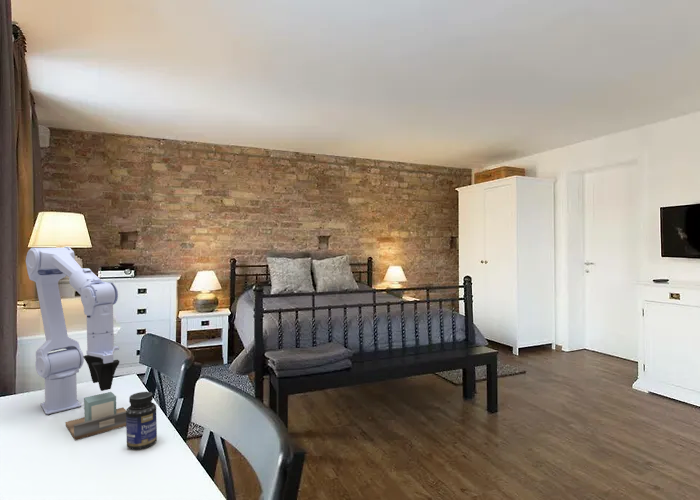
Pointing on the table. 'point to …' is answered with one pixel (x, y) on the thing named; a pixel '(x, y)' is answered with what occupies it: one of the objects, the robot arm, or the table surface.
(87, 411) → the carton
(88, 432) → the shelf board
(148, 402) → the pill bottle
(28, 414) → the table surface
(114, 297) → the robot arm
